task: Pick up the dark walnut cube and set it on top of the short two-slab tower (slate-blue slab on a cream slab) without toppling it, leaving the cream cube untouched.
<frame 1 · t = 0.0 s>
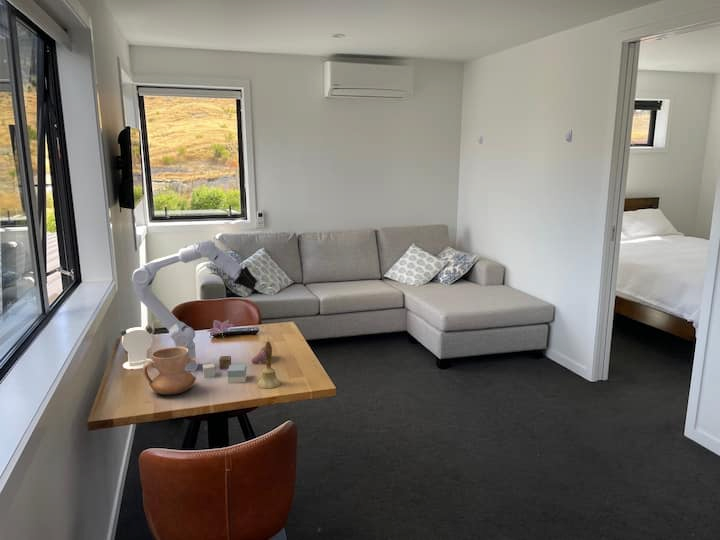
hand: (254, 285, 207), 32 cm above the table, tool tilted 50°, fingers open, 7 cm apart
cream cube: (209, 375, 203), on the table
walnut cube: (225, 367, 211), on the table
lily: (221, 338, 247), on the table
hand bell: (269, 384, 195), on the table
video game controller: (262, 360, 219), on the table
tower base: (237, 380, 199), on the table
panda figurine: (139, 364, 216), on the table
ceramic jug: (171, 390, 190), on the table
tower top: (237, 374, 199), point 2 cm above the table
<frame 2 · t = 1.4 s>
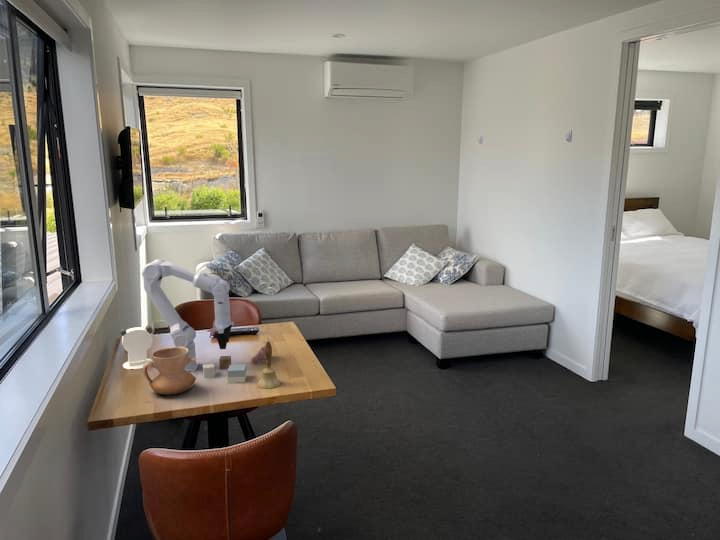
hand: (224, 345, 210), 9 cm above the table, tool pointing down, fingers open, 7 cm apart
nothing on the table moved.
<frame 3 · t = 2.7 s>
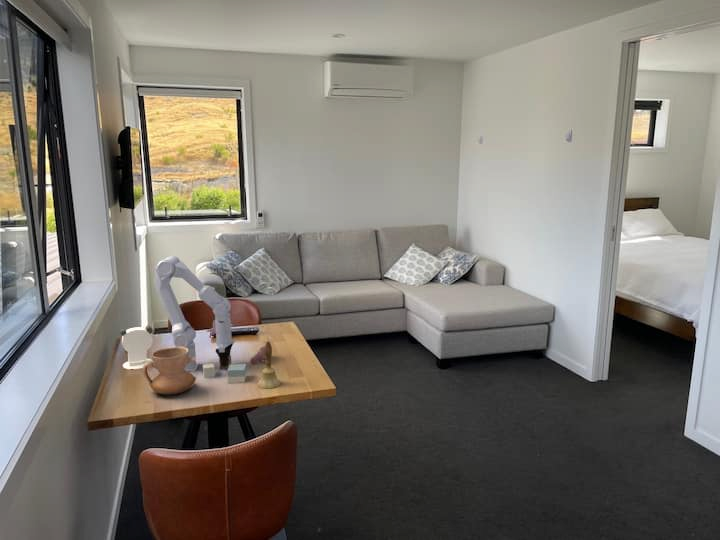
hand: (225, 363, 211), 1 cm above the table, tool pointing down, fingers closed on walnut cube, 4 cm apart
walnut cube: (225, 367, 211), on the table, touching gripper
everything else where it was.
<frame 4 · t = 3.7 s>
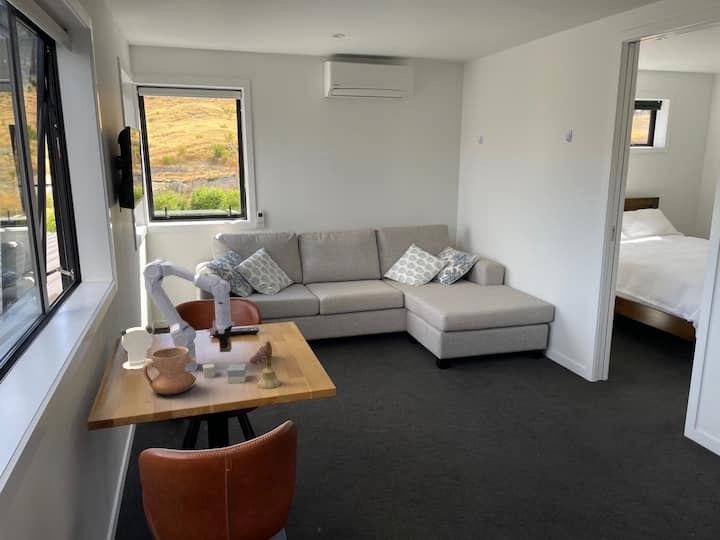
hand: (225, 345, 209), 9 cm above the table, tool pointing down, fingers closed on walnut cube, 4 cm apart
walnut cube: (225, 350, 209), point 7 cm above the table, touching gripper
tower base: (237, 380, 199), on the table, touching tower top
tower top: (237, 373, 199), point 2 cm above the table, touching tower base
everything else where it was.
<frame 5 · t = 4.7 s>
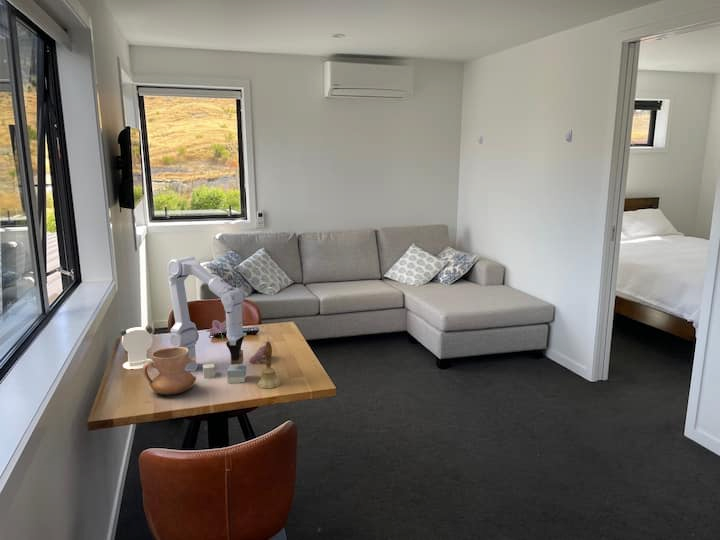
hand: (236, 357, 198), 8 cm above the table, tool pointing down, fingers closed on walnut cube, 4 cm apart
walnut cube: (237, 362, 198), point 7 cm above the table, touching gripper
when the fingers open (7 cm above the table, at t = 5.3 s): walnut cube drops 1 cm, resting on tower top.
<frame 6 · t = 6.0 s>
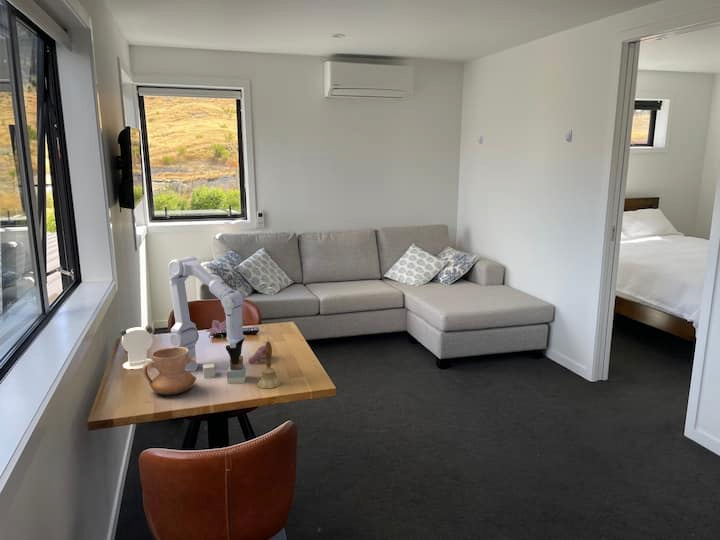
hand: (236, 360, 198), 7 cm above the table, tool pointing down, fingers open, 7 cm apart
walnut cube: (236, 368, 198), point 4 cm above the table, touching tower top
tower top: (236, 374, 198), point 2 cm above the table, touching tower base, walnut cube
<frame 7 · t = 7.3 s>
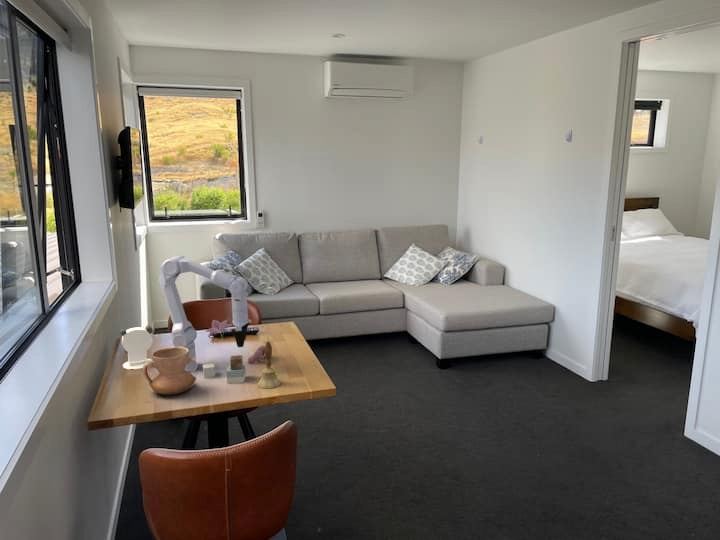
hand: (241, 343, 207), 10 cm above the table, tool pointing down, fingers open, 7 cm apart
tower base: (236, 380, 199), on the table
tower top: (235, 374, 199), point 2 cm above the table, touching walnut cube
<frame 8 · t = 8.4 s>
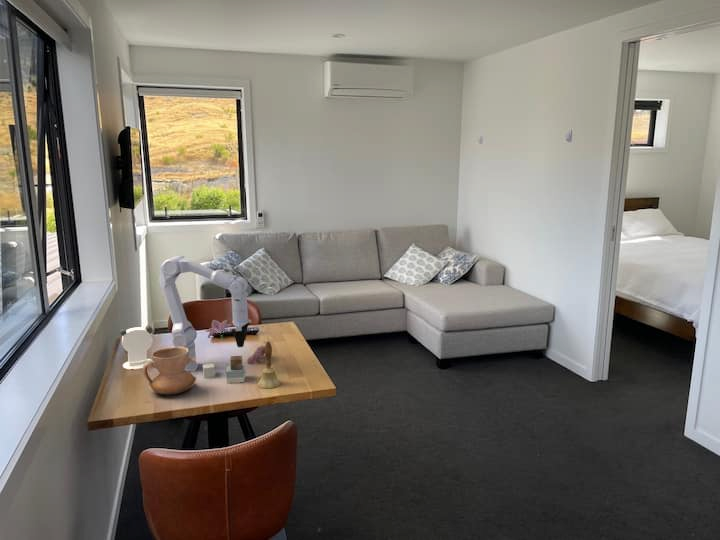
hand: (241, 343, 207), 10 cm above the table, tool pointing down, fingers open, 7 cm apart
tower base: (236, 380, 199), on the table, touching tower top
tower top: (235, 374, 199), point 2 cm above the table, touching tower base, walnut cube
at the end: walnut cube 0.4 cm off-centre on the tower base, point 5.0 cm above the tower base's base; walnut cube tilted 0°; tower top 0.1 cm off-centre on the tower base, point 2.5 cm above the tower base's base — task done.
